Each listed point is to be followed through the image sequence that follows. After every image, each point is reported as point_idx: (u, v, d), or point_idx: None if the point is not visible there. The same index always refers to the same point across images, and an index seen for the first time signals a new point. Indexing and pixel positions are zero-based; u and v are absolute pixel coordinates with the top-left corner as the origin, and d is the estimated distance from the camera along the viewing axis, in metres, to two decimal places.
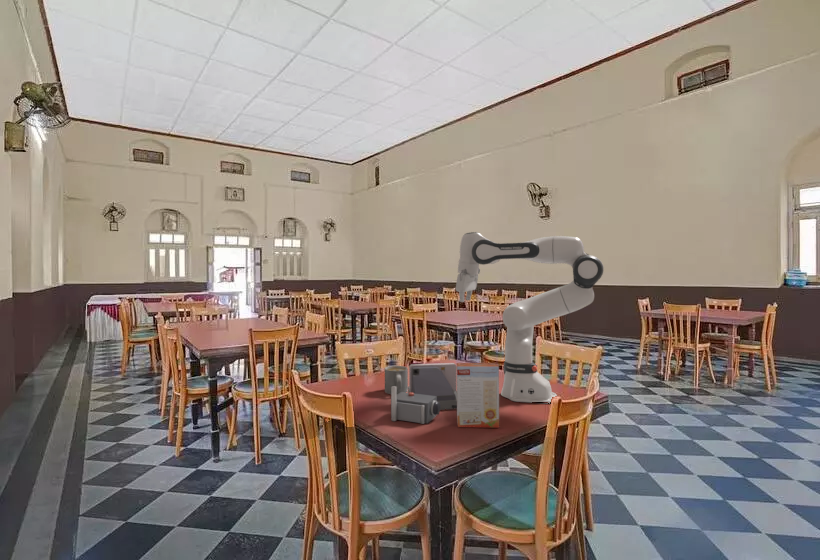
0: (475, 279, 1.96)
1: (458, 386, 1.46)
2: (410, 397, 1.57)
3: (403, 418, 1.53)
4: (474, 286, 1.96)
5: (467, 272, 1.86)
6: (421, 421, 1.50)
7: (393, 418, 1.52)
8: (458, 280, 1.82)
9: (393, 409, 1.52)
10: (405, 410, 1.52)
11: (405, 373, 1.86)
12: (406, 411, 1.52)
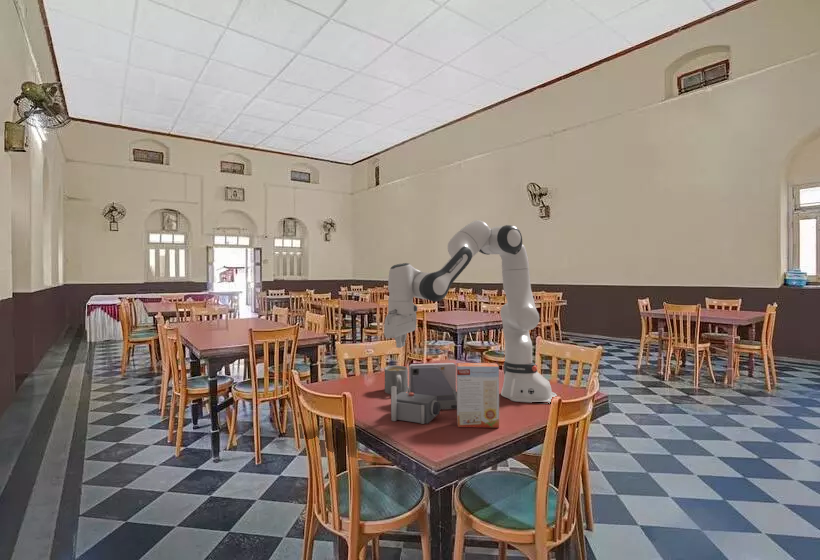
0: (413, 318, 1.63)
1: (458, 386, 1.46)
2: (410, 397, 1.57)
3: (403, 418, 1.53)
4: (412, 327, 1.63)
5: (398, 312, 1.53)
6: (421, 421, 1.50)
7: (393, 418, 1.52)
8: (386, 324, 1.49)
9: (393, 409, 1.52)
10: (405, 410, 1.52)
11: (405, 373, 1.86)
12: (406, 411, 1.52)
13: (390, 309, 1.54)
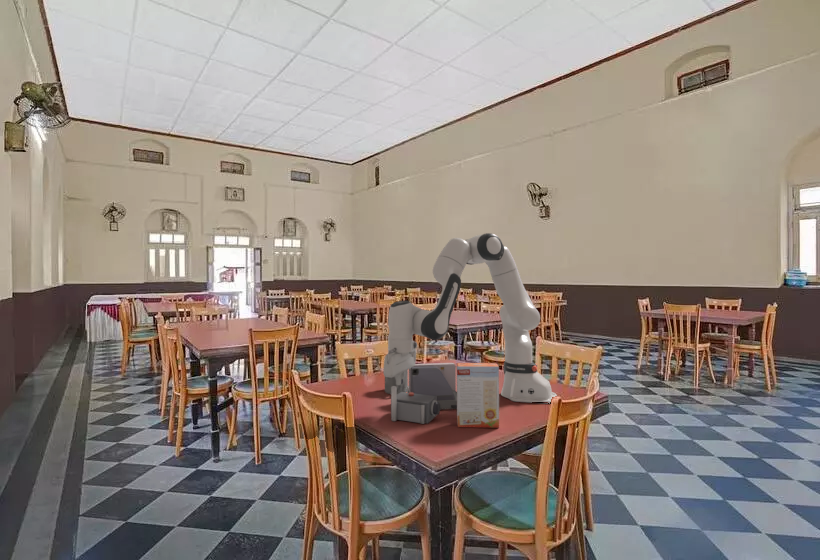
0: (412, 354, 1.64)
1: (458, 386, 1.46)
2: (410, 397, 1.57)
3: (403, 418, 1.53)
4: (411, 363, 1.63)
5: (397, 351, 1.53)
6: (421, 421, 1.50)
7: (393, 418, 1.52)
8: (385, 363, 1.49)
9: (393, 409, 1.52)
10: (405, 410, 1.52)
11: None
12: (406, 411, 1.52)
13: (390, 347, 1.55)
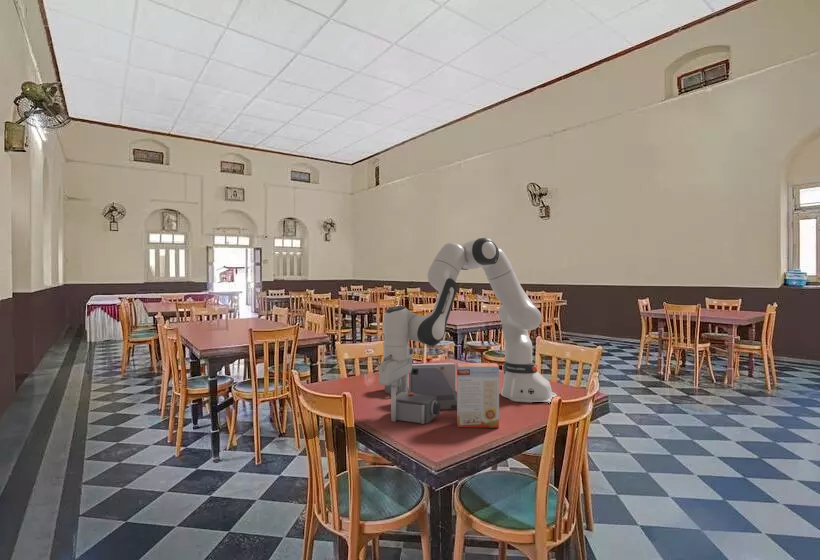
0: (408, 361, 1.60)
1: (458, 386, 1.46)
2: (410, 397, 1.57)
3: (403, 418, 1.52)
4: (408, 370, 1.60)
5: (393, 358, 1.50)
6: (421, 421, 1.50)
7: (393, 418, 1.52)
8: (380, 371, 1.46)
9: (393, 409, 1.52)
10: (405, 410, 1.52)
11: None
12: (406, 411, 1.52)
13: (385, 354, 1.51)
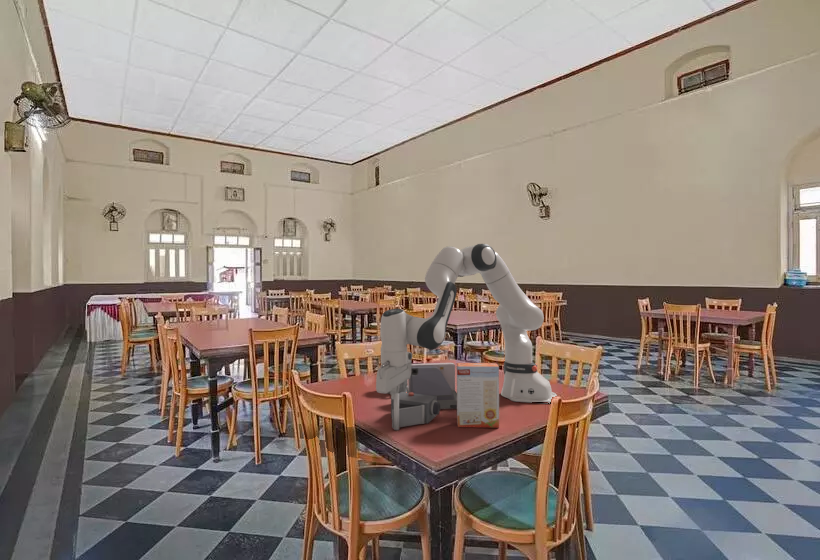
0: (407, 366, 1.52)
1: (458, 386, 1.46)
2: (410, 397, 1.57)
3: (404, 424, 1.47)
4: (407, 375, 1.52)
5: (391, 364, 1.42)
6: (422, 421, 1.50)
7: (398, 427, 1.44)
8: (378, 378, 1.38)
9: (398, 417, 1.44)
10: (406, 415, 1.47)
11: None
12: (407, 416, 1.47)
13: (382, 360, 1.43)
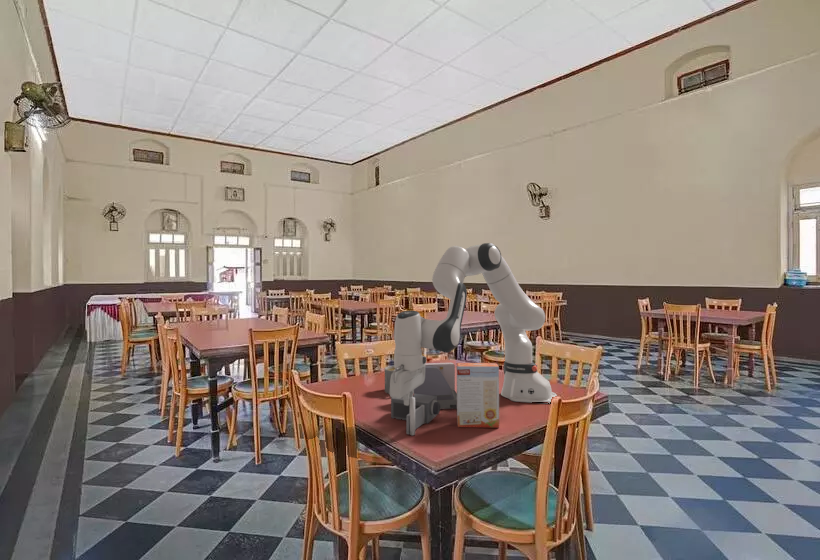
0: (421, 370, 1.47)
1: (458, 386, 1.46)
2: None
3: None
4: (421, 380, 1.46)
5: (405, 368, 1.36)
6: (423, 421, 1.50)
7: None
8: (392, 383, 1.32)
9: (415, 421, 1.40)
10: (415, 418, 1.44)
11: None
12: (416, 418, 1.45)
13: (396, 363, 1.38)
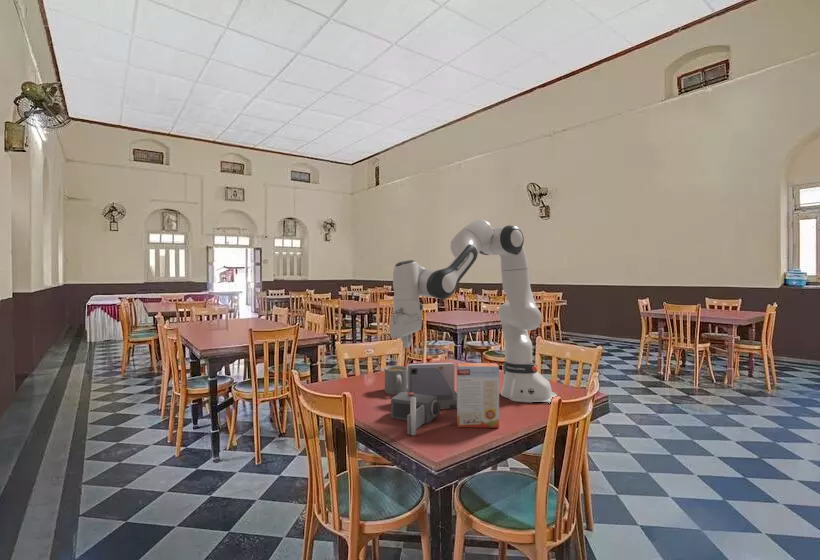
0: (418, 317, 1.57)
1: (458, 386, 1.46)
2: (410, 397, 1.57)
3: None
4: (418, 326, 1.57)
5: (404, 311, 1.47)
6: (423, 421, 1.50)
7: (415, 431, 1.40)
8: (392, 324, 1.43)
9: (415, 421, 1.40)
10: (415, 418, 1.44)
11: (405, 373, 1.86)
12: (416, 419, 1.45)
13: (395, 308, 1.49)
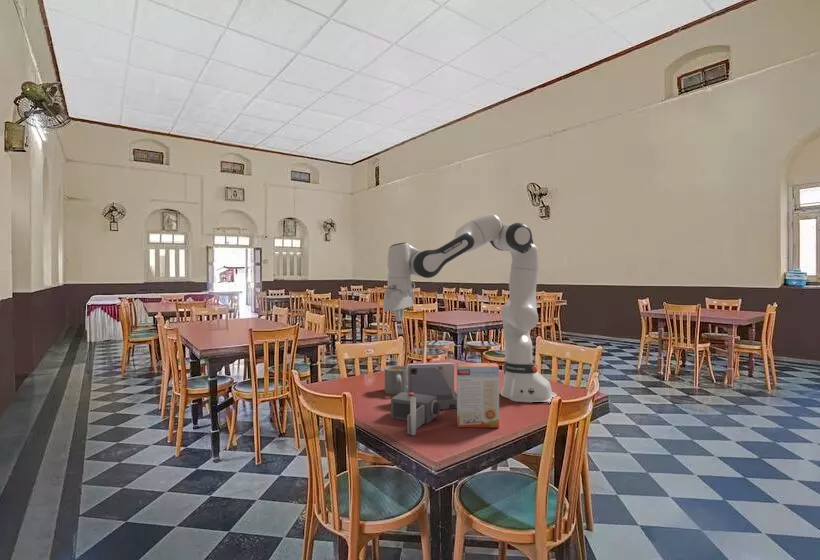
0: (410, 295, 1.74)
1: (458, 386, 1.46)
2: (410, 397, 1.57)
3: None
4: (410, 303, 1.74)
5: (396, 288, 1.64)
6: (423, 421, 1.50)
7: (415, 431, 1.40)
8: (385, 298, 1.60)
9: (415, 421, 1.40)
10: (415, 418, 1.44)
11: (405, 373, 1.86)
12: (416, 419, 1.45)
13: (389, 285, 1.65)
